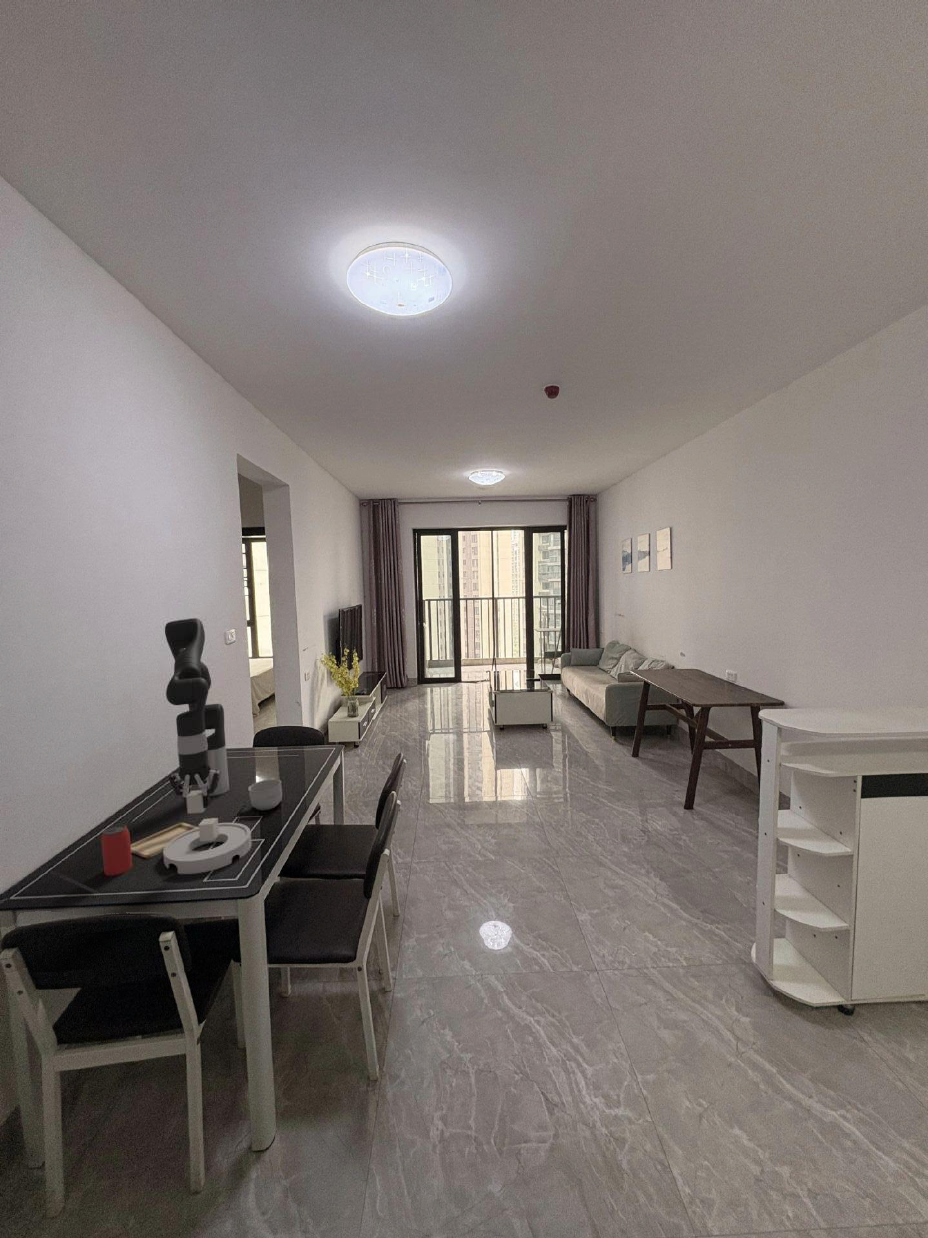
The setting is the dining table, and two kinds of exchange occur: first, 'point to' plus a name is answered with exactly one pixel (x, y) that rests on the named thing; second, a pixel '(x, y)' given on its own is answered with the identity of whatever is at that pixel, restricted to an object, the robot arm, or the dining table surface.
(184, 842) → the ashtray
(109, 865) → the beer can
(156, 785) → the dining table surface
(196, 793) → the stone block
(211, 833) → the stone block
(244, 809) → the dining table surface
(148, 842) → the tray
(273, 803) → the teacup
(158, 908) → the dining table surface
